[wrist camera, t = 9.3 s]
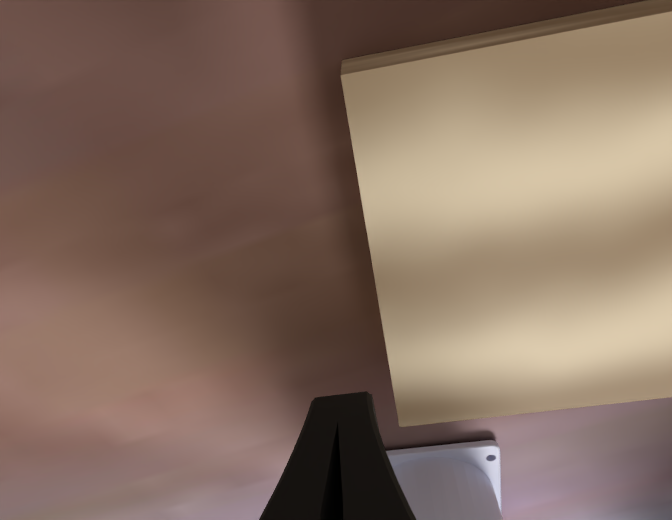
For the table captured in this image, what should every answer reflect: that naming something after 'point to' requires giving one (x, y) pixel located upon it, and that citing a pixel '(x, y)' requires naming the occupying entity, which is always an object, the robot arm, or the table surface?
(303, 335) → the table surface
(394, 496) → the robot arm
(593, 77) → the beige square tray
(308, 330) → the table surface
